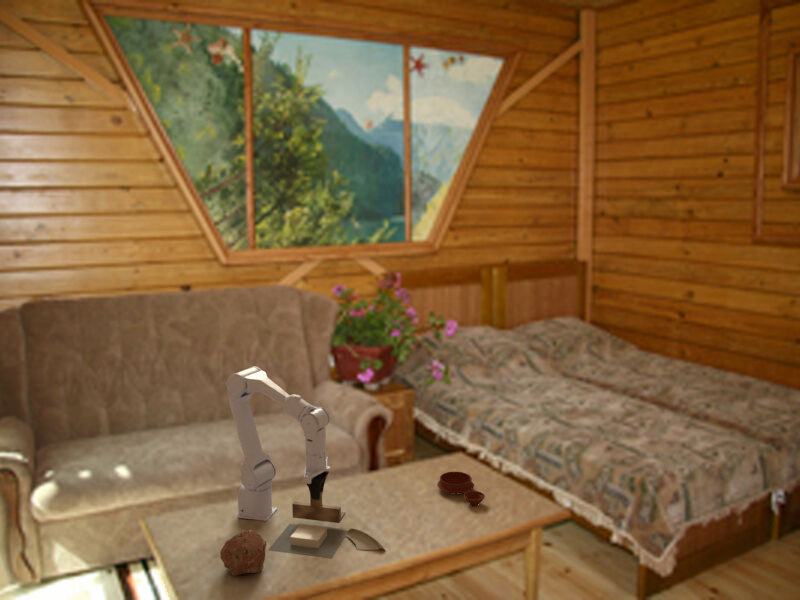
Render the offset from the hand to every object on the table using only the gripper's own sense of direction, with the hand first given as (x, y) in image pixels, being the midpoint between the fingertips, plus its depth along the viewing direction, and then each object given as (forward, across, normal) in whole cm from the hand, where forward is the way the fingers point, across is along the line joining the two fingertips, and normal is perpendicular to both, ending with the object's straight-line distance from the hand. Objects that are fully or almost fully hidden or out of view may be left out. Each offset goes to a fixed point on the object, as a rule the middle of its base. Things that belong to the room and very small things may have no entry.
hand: (316, 497), depth 202 cm
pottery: (+10, +32, -36) cm, 49 cm away
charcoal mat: (+10, -6, 0) cm, 12 cm away
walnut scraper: (+7, +2, 0) cm, 7 cm away
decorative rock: (+10, -24, +11) cm, 28 cm away
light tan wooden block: (+8, -3, 0) cm, 9 cm away
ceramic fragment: (+11, -4, -15) cm, 19 cm away
